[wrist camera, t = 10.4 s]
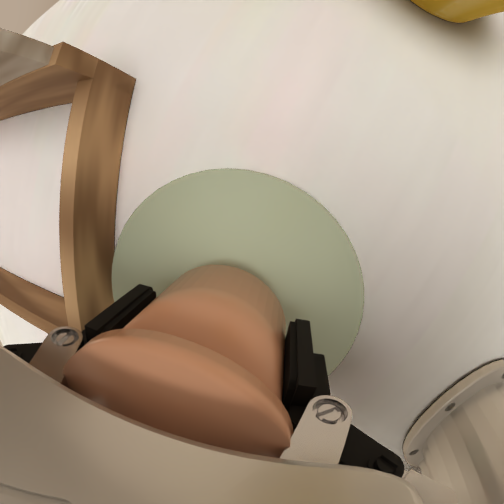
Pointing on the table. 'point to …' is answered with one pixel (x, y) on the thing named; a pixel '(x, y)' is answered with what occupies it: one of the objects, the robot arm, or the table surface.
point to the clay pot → (197, 363)
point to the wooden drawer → (71, 172)
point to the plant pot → (460, 8)
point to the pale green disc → (249, 248)
